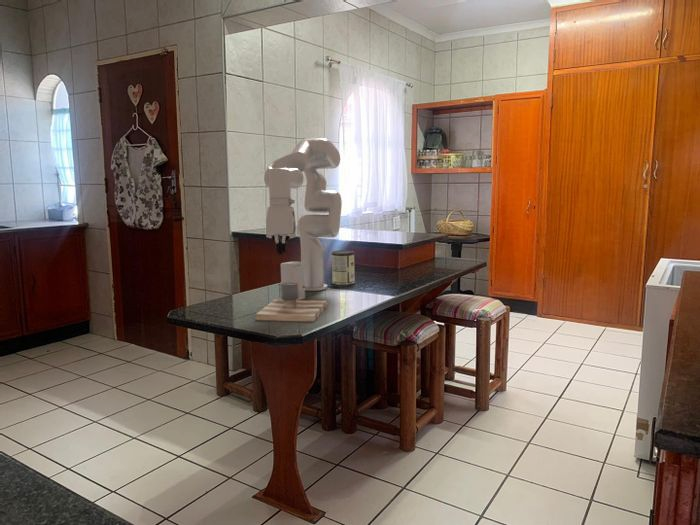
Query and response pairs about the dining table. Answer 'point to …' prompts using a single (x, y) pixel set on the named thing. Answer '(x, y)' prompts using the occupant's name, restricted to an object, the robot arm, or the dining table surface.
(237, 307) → the dining table surface
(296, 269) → the skincare box
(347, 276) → the coffee can
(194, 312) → the dining table surface
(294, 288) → the grey orange long piece
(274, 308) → the base
